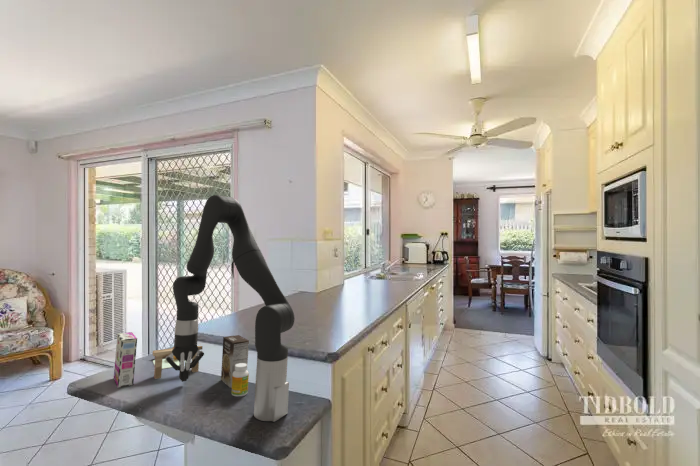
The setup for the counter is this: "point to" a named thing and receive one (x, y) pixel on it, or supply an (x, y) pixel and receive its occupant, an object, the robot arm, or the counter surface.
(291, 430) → the counter surface
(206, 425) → the counter surface
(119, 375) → the candy bar box
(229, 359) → the coffee box
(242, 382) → the supplement bottle
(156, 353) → the bridge
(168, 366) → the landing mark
